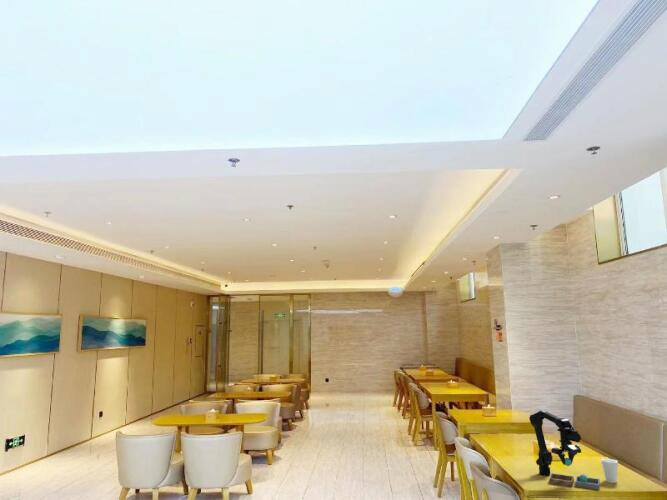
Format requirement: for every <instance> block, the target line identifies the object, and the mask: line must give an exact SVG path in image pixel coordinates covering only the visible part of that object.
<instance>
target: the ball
mask: <svg viewBox="0 0 667 500" xmlns="http://www.w3.org/2000/svg"><path fill="white" fill-rule="evenodd" d="M578 476H579V479H580V481H581V482H584V483H586V482H587V481H588V478H589V477H588V476H587V475H585V474H582V473H581V474H580V475H578Z"/></svg>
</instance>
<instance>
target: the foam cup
mask: <svg viewBox="0 0 667 500" xmlns="http://www.w3.org/2000/svg"><path fill="white" fill-rule="evenodd" d="M601 465H602V469H603V472H604V473H603V475H604V478H605V481H606V482H608V483H612V484H617V483H618V468H619V462H618V460H617V459H612V458H601Z"/></svg>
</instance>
